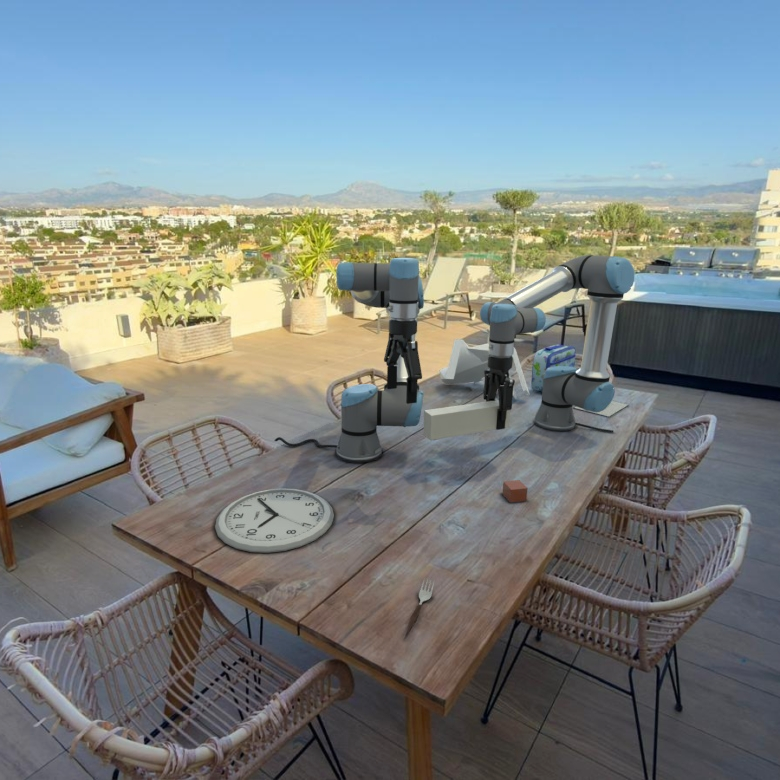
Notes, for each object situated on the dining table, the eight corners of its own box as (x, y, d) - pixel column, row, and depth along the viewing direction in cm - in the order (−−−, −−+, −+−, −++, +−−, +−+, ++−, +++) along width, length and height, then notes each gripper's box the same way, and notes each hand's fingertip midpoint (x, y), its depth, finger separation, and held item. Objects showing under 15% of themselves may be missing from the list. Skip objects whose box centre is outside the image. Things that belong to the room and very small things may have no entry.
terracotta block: (518, 492, 152) (519, 479, 150) (526, 500, 147) (527, 488, 146) (502, 494, 151) (503, 481, 149) (509, 502, 146) (511, 489, 145)
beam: (500, 422, 171) (502, 399, 169) (509, 427, 167) (511, 404, 164) (423, 434, 161) (424, 410, 159) (430, 440, 157) (431, 415, 154)
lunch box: (547, 397, 237) (552, 352, 231) (526, 391, 245) (531, 348, 238) (574, 386, 255) (580, 344, 249) (554, 381, 262) (559, 340, 256)
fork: (398, 636, 97) (399, 628, 97) (423, 584, 111) (423, 576, 111) (412, 640, 96) (412, 631, 96) (435, 587, 111) (435, 579, 110)
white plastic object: (461, 429, 252) (437, 405, 227) (444, 352, 274) (420, 323, 250) (535, 404, 240) (518, 377, 215) (510, 326, 262) (492, 293, 237)
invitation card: (608, 416, 214) (573, 407, 224) (608, 416, 214) (573, 408, 224) (628, 404, 229) (594, 396, 238) (628, 405, 229) (594, 397, 238)
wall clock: (332, 544, 122) (200, 548, 120) (332, 550, 123) (201, 555, 120) (334, 484, 151) (228, 486, 148) (334, 489, 151) (228, 491, 149)
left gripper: (373, 312, 147) (372, 384, 153) (409, 327, 125) (407, 411, 131) (397, 310, 150) (396, 381, 156) (437, 326, 128) (433, 408, 134)
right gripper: (474, 349, 167) (470, 417, 174) (507, 363, 151) (501, 437, 158) (494, 347, 170) (490, 415, 177) (528, 361, 154) (522, 434, 161)
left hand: (401, 395), depth 144 cm, fingers open, 13 cm apart
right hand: (495, 425), depth 168 cm, fingers closed on beam, 5 cm apart
